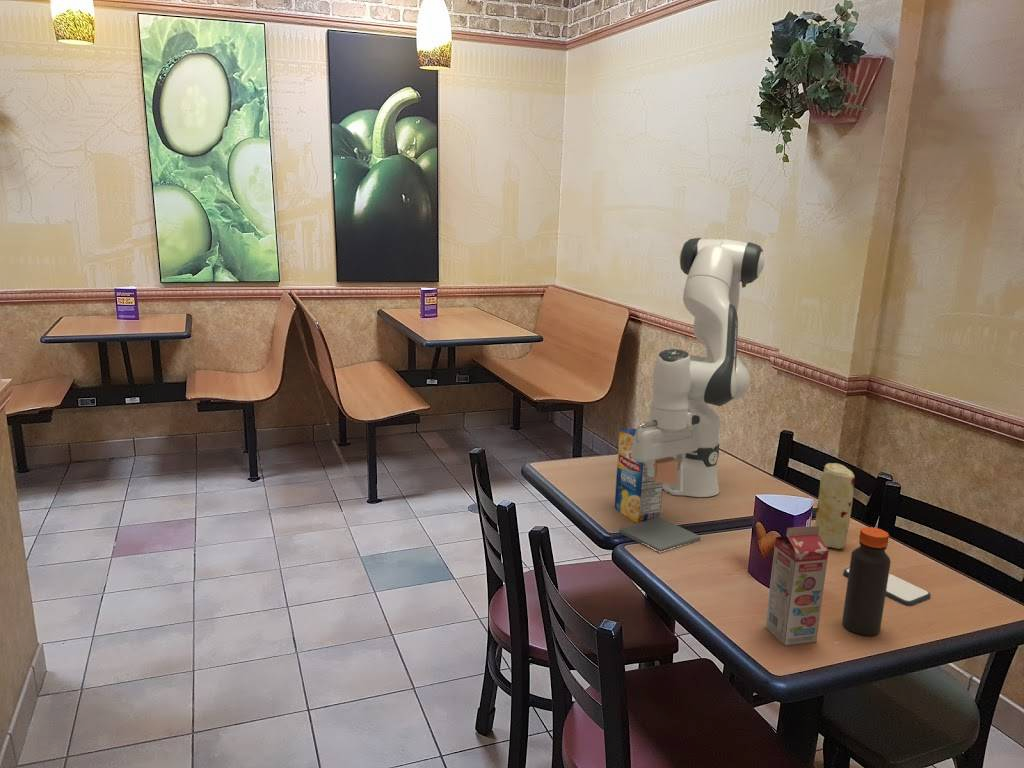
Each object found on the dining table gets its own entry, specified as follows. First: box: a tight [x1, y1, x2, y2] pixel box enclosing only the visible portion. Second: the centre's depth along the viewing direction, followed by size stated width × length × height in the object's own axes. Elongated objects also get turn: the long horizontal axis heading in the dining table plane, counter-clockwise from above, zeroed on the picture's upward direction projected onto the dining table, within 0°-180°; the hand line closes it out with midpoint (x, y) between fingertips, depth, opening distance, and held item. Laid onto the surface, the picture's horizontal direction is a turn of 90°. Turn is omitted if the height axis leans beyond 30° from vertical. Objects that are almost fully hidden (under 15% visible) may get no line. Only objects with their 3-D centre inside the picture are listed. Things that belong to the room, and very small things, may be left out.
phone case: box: [843, 567, 932, 607], centre depth 163 cm, size 9×2×16 cm
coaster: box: [618, 516, 701, 552], centre depth 185 cm, size 14×14×1 cm
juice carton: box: [764, 525, 830, 646], centre depth 140 cm, size 7×7×22 cm
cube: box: [653, 457, 678, 484], centre depth 181 cm, size 5×5×5 cm
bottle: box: [841, 526, 892, 637], centre depth 144 cm, size 7×7×20 cm
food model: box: [814, 462, 856, 550], centre depth 181 cm, size 10×7×20 cm
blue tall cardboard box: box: [614, 428, 663, 524], centre depth 195 cm, size 7×11×22 cm, turn 27°
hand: (664, 473), depth 181 cm, fingers closed on cube, 7 cm apart
